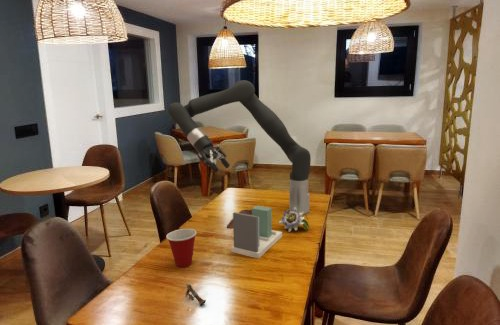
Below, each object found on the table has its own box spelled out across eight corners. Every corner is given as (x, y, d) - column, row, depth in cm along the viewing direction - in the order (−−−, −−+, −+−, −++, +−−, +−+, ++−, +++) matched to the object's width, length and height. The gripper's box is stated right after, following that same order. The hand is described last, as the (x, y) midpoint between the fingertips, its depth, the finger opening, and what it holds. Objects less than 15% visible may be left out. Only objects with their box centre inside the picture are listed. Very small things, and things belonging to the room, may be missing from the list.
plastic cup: (181, 254, 139) (180, 225, 137) (204, 260, 134) (202, 230, 131) (161, 266, 130) (159, 235, 128) (184, 274, 125) (182, 241, 122)
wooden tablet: (241, 207, 188) (260, 206, 185) (242, 211, 188) (260, 210, 186) (224, 226, 163) (245, 226, 160) (225, 231, 164) (246, 231, 161)
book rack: (257, 231, 159) (256, 196, 156) (282, 236, 154) (282, 200, 150) (231, 251, 141) (230, 213, 137) (258, 258, 135) (258, 218, 131)
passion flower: (290, 242, 160) (273, 222, 159) (295, 229, 169) (280, 209, 168) (310, 233, 154) (294, 211, 153) (315, 220, 164) (299, 199, 162)
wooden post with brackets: (186, 291, 113) (189, 281, 111) (202, 309, 109) (206, 299, 107) (182, 293, 112) (185, 283, 110) (198, 312, 108) (201, 302, 106)
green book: (256, 232, 154) (256, 205, 151) (271, 235, 150) (271, 207, 148) (252, 235, 150) (251, 208, 148) (267, 238, 147) (267, 211, 144)
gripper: (194, 137, 148) (218, 167, 145) (213, 132, 160) (236, 160, 157) (184, 149, 152) (208, 178, 149) (204, 143, 164) (226, 170, 161)
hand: (223, 169), depth 153 cm, fingers open, 8 cm apart
